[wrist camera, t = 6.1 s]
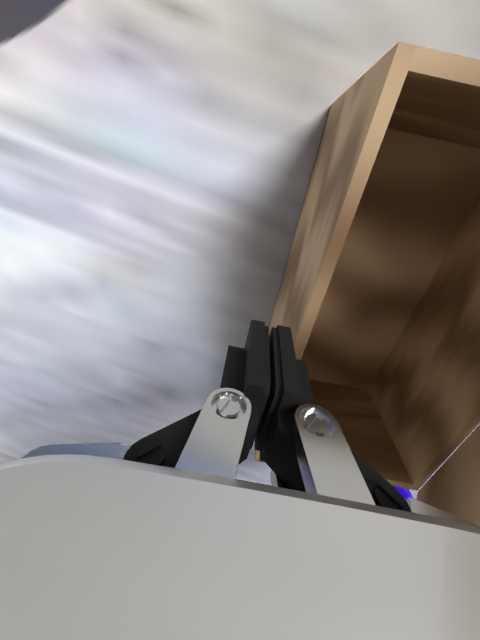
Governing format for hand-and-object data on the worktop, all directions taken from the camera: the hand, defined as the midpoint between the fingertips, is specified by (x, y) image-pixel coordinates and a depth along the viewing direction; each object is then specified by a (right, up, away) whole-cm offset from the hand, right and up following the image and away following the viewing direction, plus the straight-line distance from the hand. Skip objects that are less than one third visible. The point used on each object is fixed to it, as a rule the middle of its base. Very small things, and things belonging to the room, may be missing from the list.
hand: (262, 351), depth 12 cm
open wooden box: (+9, +4, +11) cm, 15 cm away
